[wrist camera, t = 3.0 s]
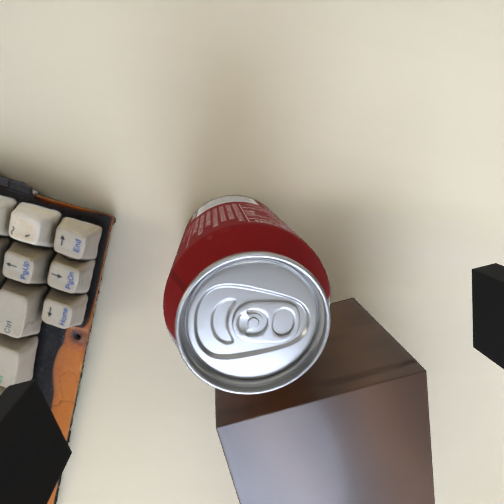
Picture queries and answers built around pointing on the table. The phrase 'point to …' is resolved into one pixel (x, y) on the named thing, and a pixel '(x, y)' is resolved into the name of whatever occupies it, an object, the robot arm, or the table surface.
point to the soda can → (246, 298)
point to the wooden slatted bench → (335, 425)
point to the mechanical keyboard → (48, 293)
